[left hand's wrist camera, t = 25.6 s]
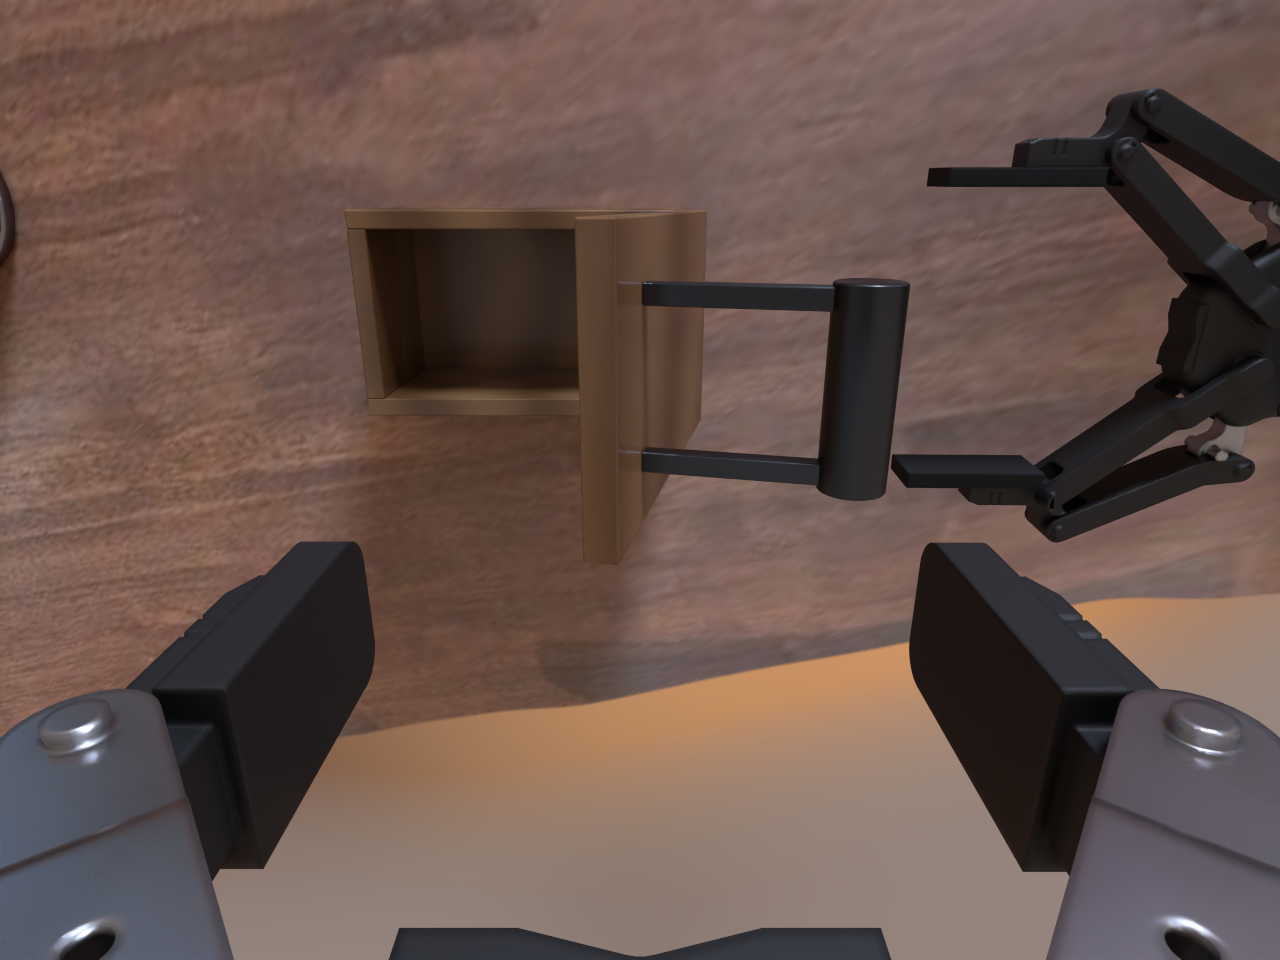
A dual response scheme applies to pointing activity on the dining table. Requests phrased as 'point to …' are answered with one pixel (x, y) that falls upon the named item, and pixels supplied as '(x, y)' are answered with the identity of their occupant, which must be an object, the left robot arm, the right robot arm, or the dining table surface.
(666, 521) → the dining table surface
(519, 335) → the chest
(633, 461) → the lid
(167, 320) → the dining table surface
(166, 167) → the dining table surface
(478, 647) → the dining table surface
